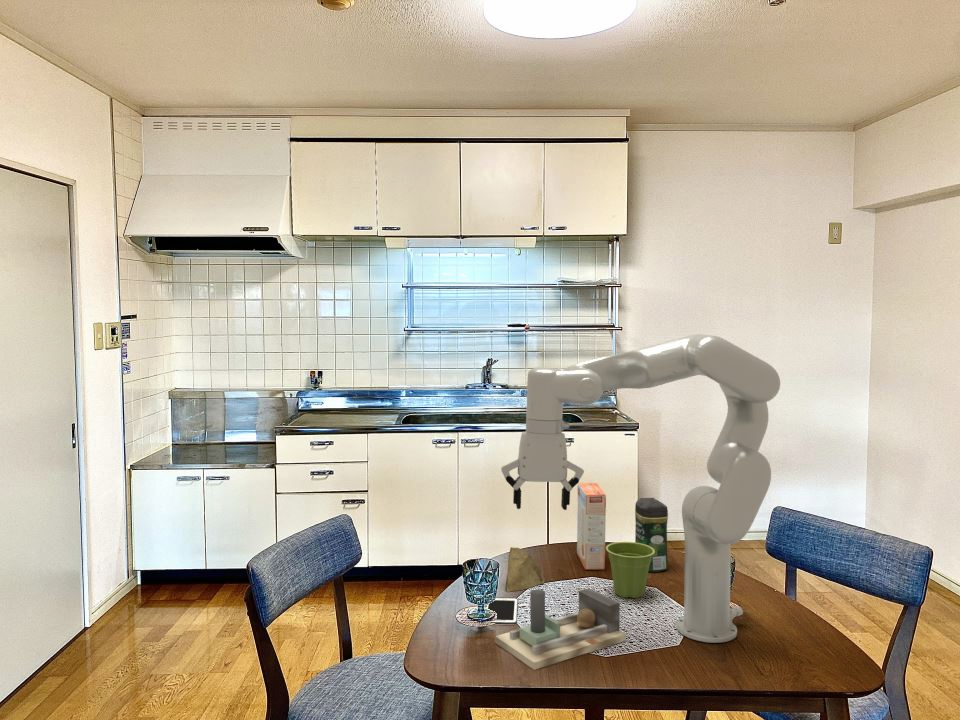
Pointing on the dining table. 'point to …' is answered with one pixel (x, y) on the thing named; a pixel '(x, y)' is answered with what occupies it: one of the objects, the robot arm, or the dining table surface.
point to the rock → (522, 571)
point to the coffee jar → (652, 530)
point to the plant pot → (629, 567)
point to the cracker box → (591, 526)
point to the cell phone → (504, 610)
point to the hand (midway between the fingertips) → (541, 507)
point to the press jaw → (539, 622)
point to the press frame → (571, 633)
